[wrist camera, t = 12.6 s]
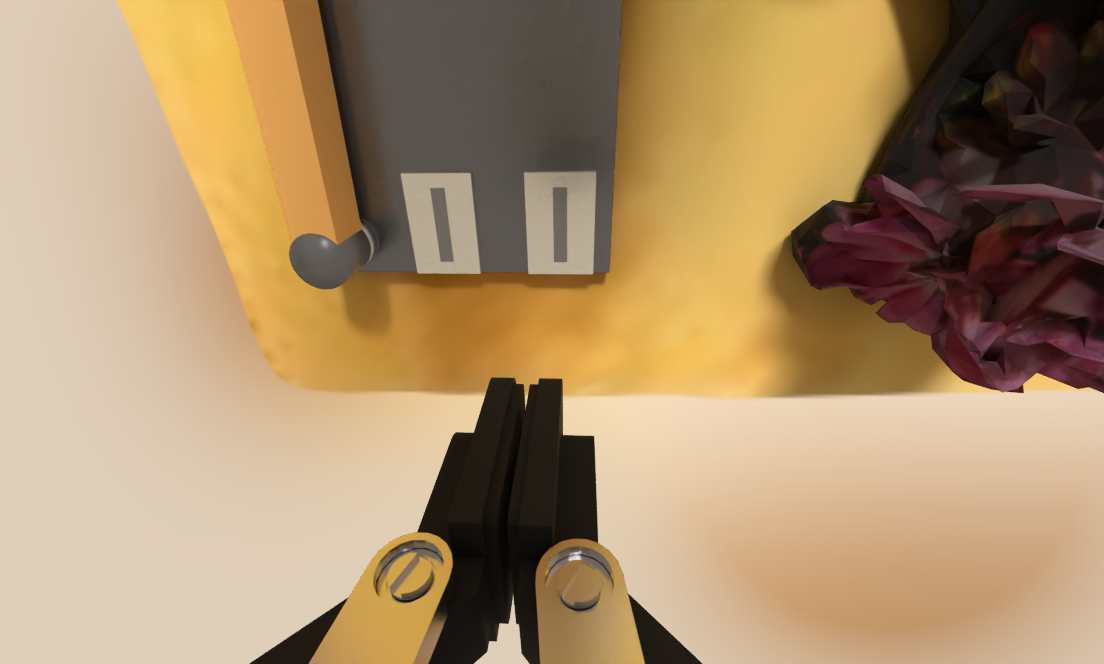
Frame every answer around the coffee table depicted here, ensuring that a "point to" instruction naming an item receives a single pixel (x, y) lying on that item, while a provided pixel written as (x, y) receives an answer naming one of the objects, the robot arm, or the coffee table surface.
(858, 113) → the coffee table surface
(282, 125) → the bar
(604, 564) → the robot arm
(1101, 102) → the flower arrangement
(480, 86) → the tray
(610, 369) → the coffee table surface
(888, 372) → the coffee table surface
